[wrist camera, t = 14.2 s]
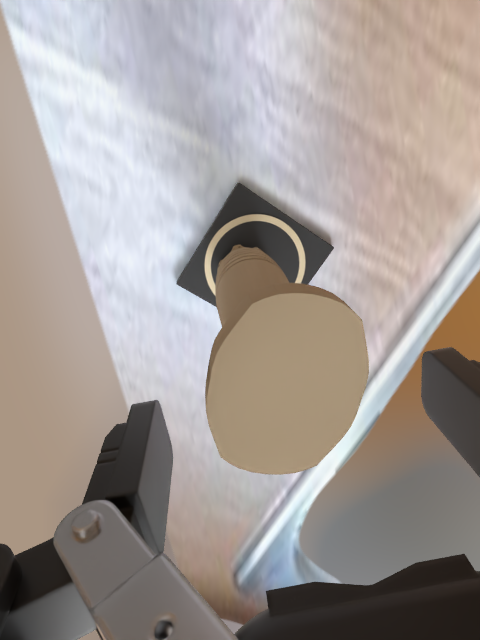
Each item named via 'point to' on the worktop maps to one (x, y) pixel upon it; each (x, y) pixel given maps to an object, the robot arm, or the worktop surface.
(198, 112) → the worktop surface
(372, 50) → the worktop surface
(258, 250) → the handle
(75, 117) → the worktop surface
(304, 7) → the worktop surface
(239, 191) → the slate board
